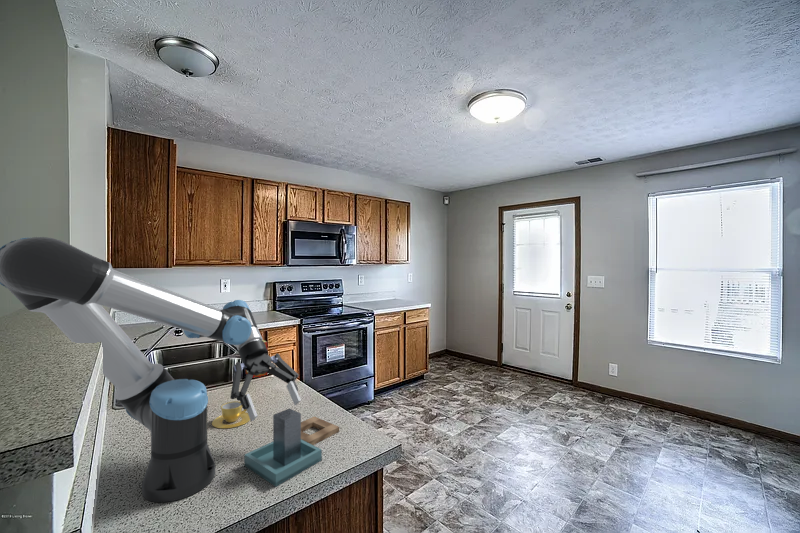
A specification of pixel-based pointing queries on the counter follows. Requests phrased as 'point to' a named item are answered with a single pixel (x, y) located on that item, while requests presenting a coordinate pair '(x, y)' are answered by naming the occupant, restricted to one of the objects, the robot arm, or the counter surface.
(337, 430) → the socket plate
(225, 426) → the cup
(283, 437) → the grey rectangular block
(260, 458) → the tray
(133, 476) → the counter surface
